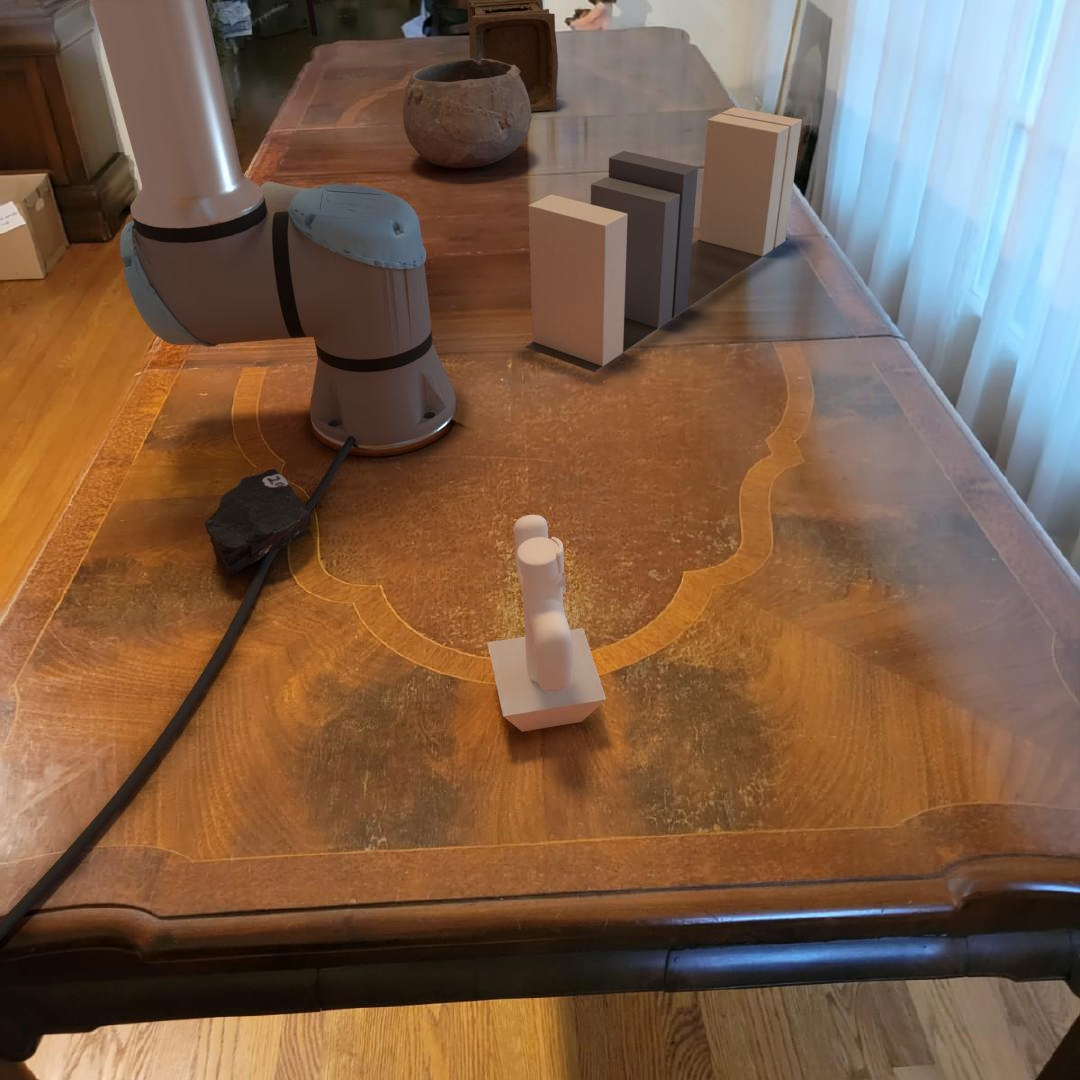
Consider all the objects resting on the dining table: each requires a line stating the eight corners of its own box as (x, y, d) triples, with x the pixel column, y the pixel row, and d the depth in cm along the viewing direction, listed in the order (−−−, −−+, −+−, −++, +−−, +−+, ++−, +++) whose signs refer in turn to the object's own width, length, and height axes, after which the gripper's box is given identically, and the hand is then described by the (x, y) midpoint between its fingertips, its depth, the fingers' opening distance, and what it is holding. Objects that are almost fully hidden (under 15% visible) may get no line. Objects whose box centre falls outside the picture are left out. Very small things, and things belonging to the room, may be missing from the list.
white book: (602, 366, 109) (605, 225, 99) (532, 341, 114) (528, 205, 104) (623, 352, 111) (627, 213, 101) (553, 328, 116) (551, 193, 106)
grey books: (658, 328, 115) (666, 183, 105) (589, 306, 120) (590, 166, 110) (687, 308, 119) (698, 166, 109) (619, 288, 124) (623, 150, 114)
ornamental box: (471, 82, 217) (454, -11, 206) (550, 67, 216) (537, -28, 205) (477, 125, 189) (457, 20, 178) (567, 107, 189) (553, 1, 177)
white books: (762, 256, 131) (778, 132, 121) (697, 240, 136) (707, 119, 126) (785, 241, 135) (802, 119, 125) (721, 225, 140) (733, 107, 130)
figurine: (508, 763, 68) (497, 604, 59) (487, 666, 75) (475, 511, 66) (609, 745, 69) (614, 587, 60) (579, 651, 76) (580, 497, 67)
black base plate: (594, 381, 109) (594, 372, 108) (524, 356, 114) (524, 346, 113) (788, 246, 136) (789, 238, 135) (725, 230, 141) (726, 222, 140)
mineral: (189, 534, 89) (173, 482, 85) (281, 497, 93) (269, 446, 89) (234, 594, 82) (219, 540, 79) (331, 552, 87) (320, 499, 83)
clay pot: (404, 186, 158) (393, 87, 149) (412, 146, 175) (403, 54, 165) (534, 182, 159) (531, 83, 149) (530, 142, 175) (528, 50, 165)
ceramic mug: (309, 250, 139) (300, 196, 134) (257, 245, 141) (247, 191, 136) (342, 224, 147) (334, 172, 142) (293, 219, 149) (284, 167, 144)
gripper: (332, -179, 114) (361, 25, 127) (114, -165, 112) (166, 40, 125) (328, -178, 108) (359, 35, 121) (98, -163, 106) (154, 51, 119)
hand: (261, 38), depth 123 cm, fingers open, 13 cm apart
